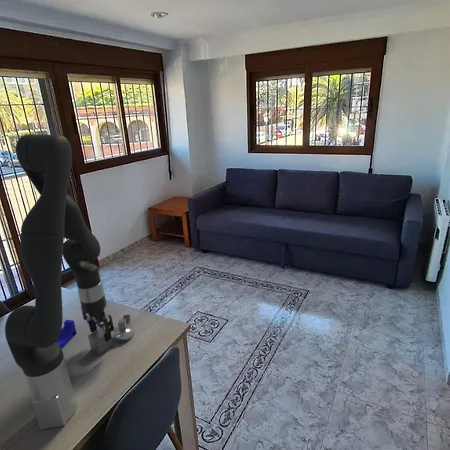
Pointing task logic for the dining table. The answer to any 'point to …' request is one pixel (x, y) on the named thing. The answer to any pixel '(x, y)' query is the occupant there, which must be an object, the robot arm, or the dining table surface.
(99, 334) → the grey paneled cube
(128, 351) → the dining table surface
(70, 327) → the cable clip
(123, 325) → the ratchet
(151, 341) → the dining table surface
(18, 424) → the dining table surface
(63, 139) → the robot arm
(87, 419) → the dining table surface
